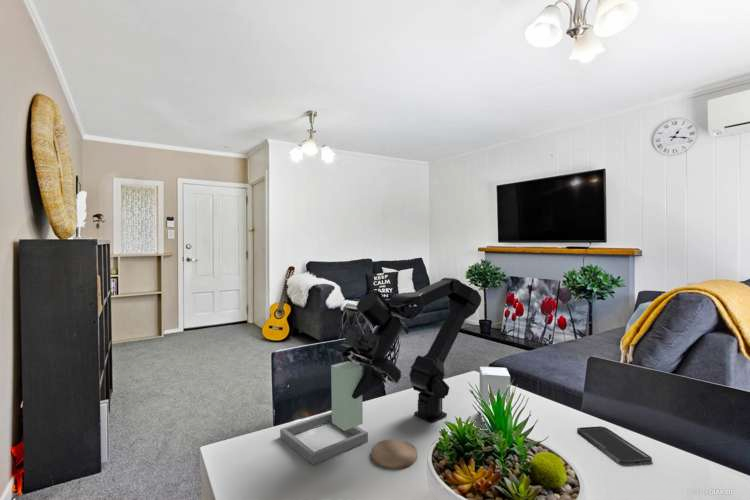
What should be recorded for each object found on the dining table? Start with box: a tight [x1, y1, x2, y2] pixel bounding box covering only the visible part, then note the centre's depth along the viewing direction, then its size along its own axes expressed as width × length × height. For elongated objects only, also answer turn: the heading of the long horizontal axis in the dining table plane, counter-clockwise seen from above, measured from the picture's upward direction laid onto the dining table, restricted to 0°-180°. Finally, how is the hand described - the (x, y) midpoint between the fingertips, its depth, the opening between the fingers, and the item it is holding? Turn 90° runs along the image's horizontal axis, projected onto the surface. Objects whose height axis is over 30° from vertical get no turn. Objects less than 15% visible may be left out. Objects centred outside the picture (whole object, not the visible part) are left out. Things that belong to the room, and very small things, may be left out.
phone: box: [576, 425, 653, 466], centre depth 87 cm, size 8×1×15 cm
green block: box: [330, 361, 364, 432], centre depth 85 cm, size 5×5×13 cm
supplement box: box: [478, 366, 511, 423], centre depth 101 cm, size 7×7×13 cm
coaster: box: [370, 438, 418, 470], centre depth 83 cm, size 10×10×1 cm
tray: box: [279, 411, 369, 465], centre depth 90 cm, size 15×15×2 cm
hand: (346, 394), depth 85 cm, fingers closed on green block, 5 cm apart
